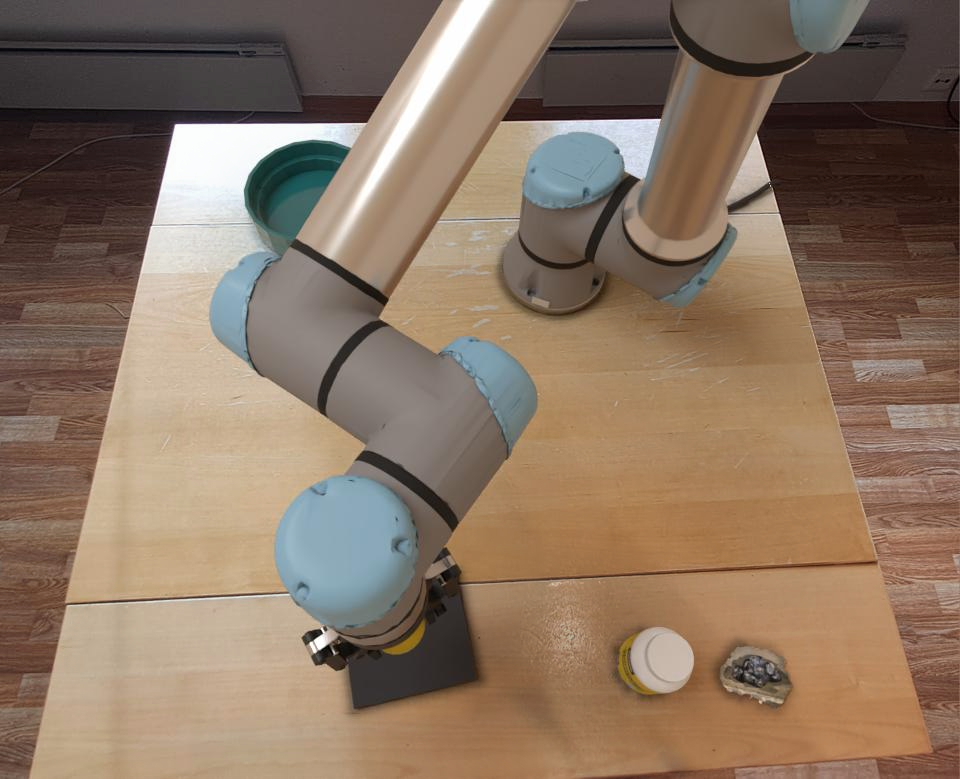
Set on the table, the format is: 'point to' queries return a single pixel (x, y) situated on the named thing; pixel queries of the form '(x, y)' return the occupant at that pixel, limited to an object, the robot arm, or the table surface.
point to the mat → (418, 662)
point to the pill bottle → (655, 661)
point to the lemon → (408, 641)
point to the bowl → (290, 188)
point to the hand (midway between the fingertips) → (399, 628)
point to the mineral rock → (756, 675)
